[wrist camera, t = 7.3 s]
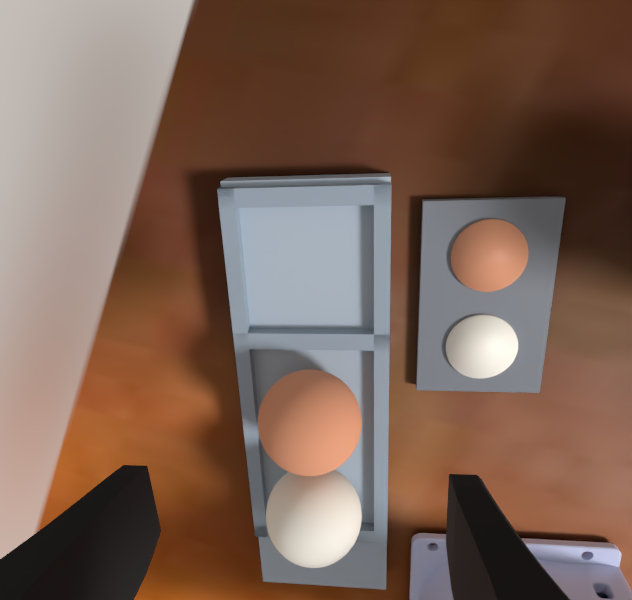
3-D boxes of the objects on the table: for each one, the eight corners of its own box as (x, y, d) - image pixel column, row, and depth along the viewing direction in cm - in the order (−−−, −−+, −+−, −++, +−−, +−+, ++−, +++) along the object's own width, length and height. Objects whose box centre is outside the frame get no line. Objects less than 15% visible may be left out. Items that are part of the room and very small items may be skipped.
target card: (562, 196, 18) (567, 198, 18) (536, 387, 21) (540, 394, 21) (421, 199, 19) (423, 202, 19) (415, 385, 22) (416, 391, 21)
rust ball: (360, 351, 21) (362, 404, 17) (361, 434, 22) (363, 500, 18) (262, 352, 21) (243, 404, 17) (270, 434, 22) (253, 499, 19)
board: (390, 172, 19) (391, 178, 17) (385, 572, 26) (386, 598, 25) (227, 177, 20) (216, 183, 18) (266, 565, 27) (261, 590, 25)
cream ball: (362, 445, 22) (360, 514, 18) (363, 517, 24) (360, 594, 20) (272, 443, 23) (252, 509, 19) (278, 513, 24) (260, 587, 20)
